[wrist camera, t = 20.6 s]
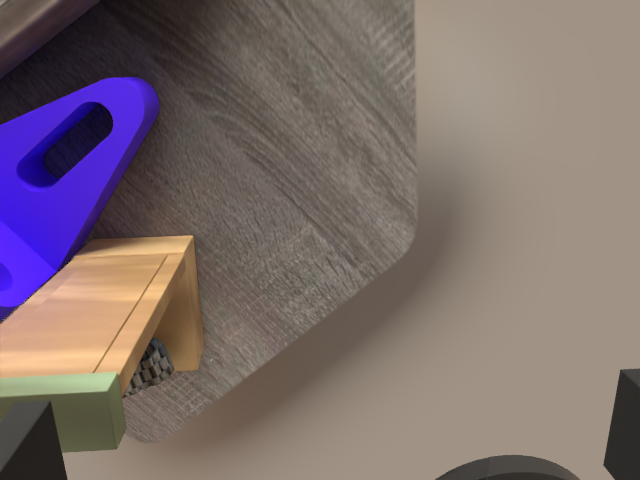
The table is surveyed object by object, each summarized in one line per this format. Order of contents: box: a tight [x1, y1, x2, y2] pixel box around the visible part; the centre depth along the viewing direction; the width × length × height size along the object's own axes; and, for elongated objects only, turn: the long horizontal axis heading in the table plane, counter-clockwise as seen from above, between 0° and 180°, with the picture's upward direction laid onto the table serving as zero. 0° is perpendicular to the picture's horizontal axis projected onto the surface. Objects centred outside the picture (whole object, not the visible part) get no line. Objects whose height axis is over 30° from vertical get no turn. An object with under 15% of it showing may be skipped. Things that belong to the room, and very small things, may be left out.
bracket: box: [0, 77, 159, 321], centre depth 34 cm, size 18×11×12 cm, turn 129°
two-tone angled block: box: [0, 236, 204, 453], centre depth 34 cm, size 10×8×22 cm
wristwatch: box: [122, 337, 175, 398], centre depth 39 cm, size 3×5×5 cm
